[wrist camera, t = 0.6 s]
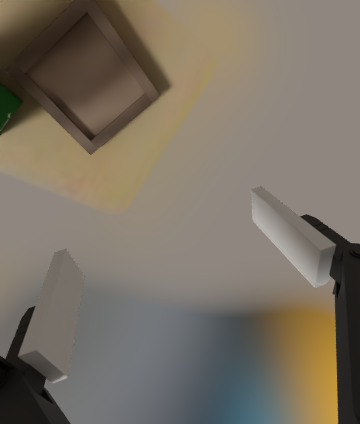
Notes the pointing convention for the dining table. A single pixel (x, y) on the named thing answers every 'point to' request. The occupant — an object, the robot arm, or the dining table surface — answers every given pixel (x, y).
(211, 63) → the dining table surface
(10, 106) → the soya milk
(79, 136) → the walnut tray
